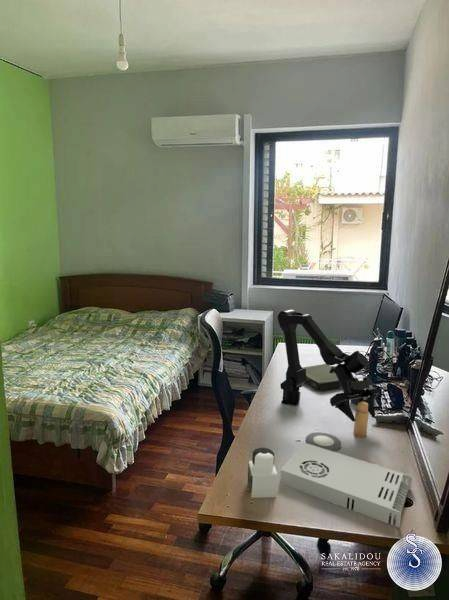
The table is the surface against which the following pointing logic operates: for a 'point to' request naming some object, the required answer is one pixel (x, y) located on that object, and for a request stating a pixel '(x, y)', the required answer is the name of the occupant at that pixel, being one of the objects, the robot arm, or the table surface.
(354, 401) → the speaker
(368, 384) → the robot arm
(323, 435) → the charcoal pad
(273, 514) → the table surface
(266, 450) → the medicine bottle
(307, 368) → the network switch
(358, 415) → the wooden bottle
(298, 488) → the power supply unit
